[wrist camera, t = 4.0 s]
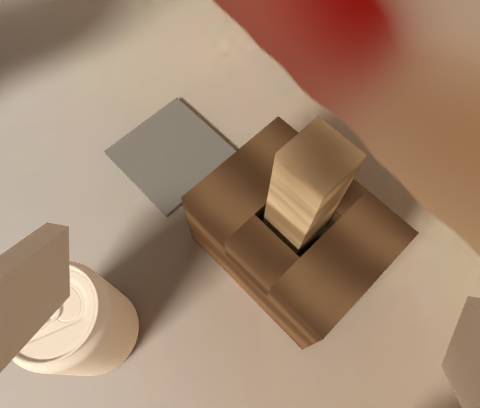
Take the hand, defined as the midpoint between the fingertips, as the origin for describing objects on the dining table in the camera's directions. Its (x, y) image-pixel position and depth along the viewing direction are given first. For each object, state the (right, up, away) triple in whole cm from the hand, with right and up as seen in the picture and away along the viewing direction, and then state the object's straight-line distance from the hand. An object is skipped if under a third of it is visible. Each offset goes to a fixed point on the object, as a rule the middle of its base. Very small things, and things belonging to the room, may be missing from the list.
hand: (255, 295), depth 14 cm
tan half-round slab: (-14, -9, +27) cm, 32 cm away
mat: (-8, +9, +34) cm, 37 cm away
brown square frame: (+4, -2, +30) cm, 30 cm away
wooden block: (+4, 0, +25) cm, 25 cm away
